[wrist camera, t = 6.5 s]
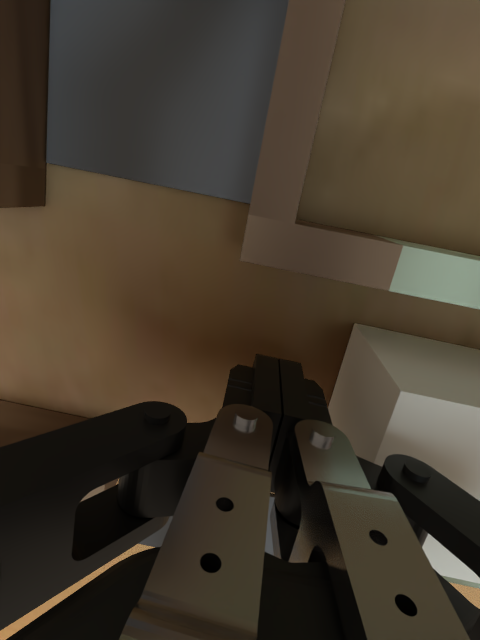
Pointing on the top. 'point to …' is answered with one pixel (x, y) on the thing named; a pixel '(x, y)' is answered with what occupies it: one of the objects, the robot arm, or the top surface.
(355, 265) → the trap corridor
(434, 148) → the top surface
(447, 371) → the cream block
